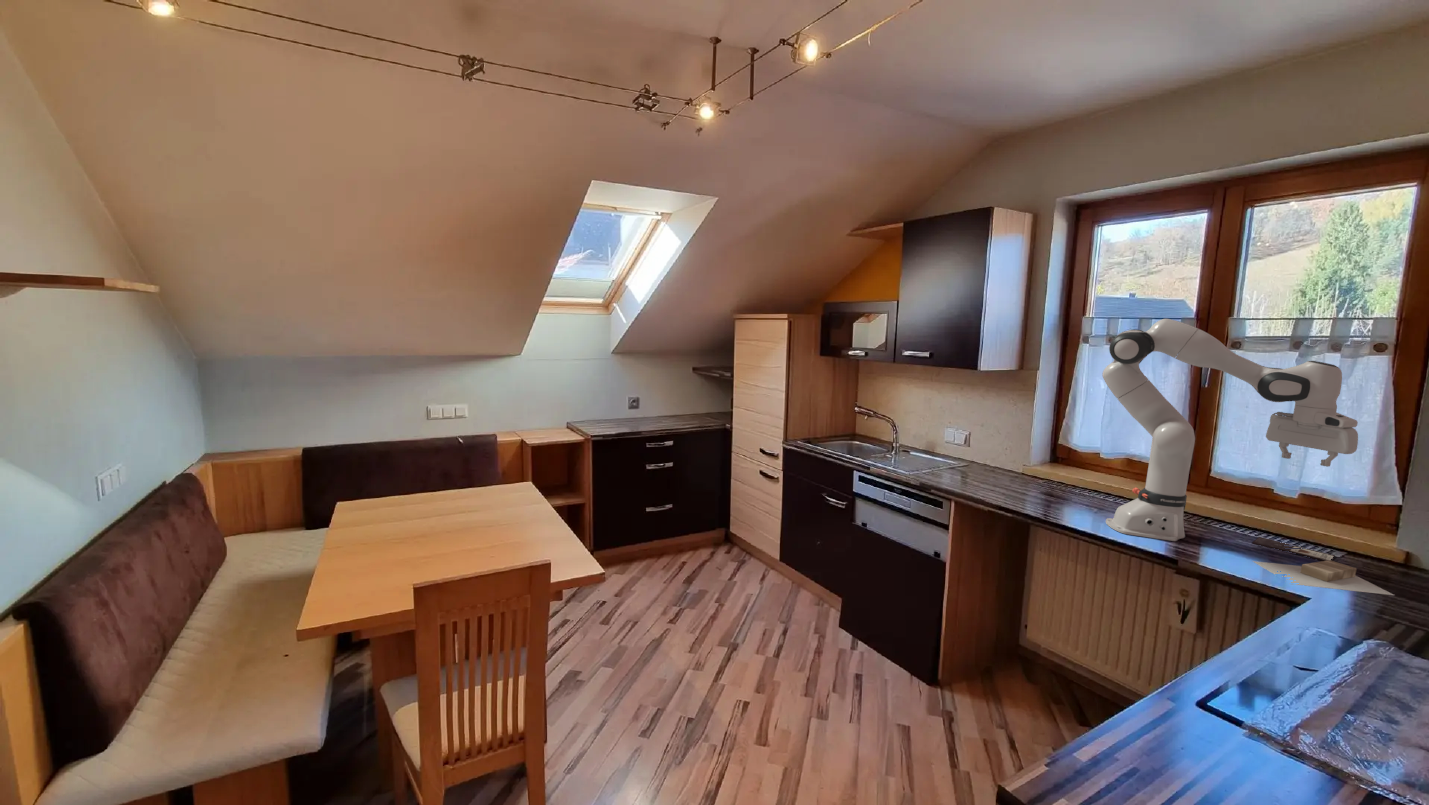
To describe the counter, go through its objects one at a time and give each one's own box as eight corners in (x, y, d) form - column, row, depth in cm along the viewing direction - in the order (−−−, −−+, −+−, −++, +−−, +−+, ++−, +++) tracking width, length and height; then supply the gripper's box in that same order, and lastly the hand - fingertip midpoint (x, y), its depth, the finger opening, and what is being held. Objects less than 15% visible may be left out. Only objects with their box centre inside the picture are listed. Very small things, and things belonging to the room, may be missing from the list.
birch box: (1329, 560, 177) (1302, 564, 173) (1356, 568, 171) (1328, 573, 167) (1328, 568, 177) (1300, 573, 173) (1354, 577, 172) (1326, 582, 168)
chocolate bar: (1259, 536, 202) (1334, 555, 188) (1259, 539, 203) (1334, 558, 188) (1252, 542, 197) (1329, 561, 183) (1251, 544, 197) (1328, 564, 183)
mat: (1290, 585, 166) (1291, 584, 165) (1251, 562, 181) (1252, 561, 181) (1394, 596, 161) (1394, 595, 161) (1345, 572, 176) (1345, 570, 176)
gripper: (1265, 410, 186) (1257, 454, 188) (1352, 423, 166) (1342, 471, 168) (1278, 410, 188) (1270, 453, 190) (1365, 422, 168) (1355, 470, 170)
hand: (1305, 462), depth 179 cm, fingers open, 8 cm apart
